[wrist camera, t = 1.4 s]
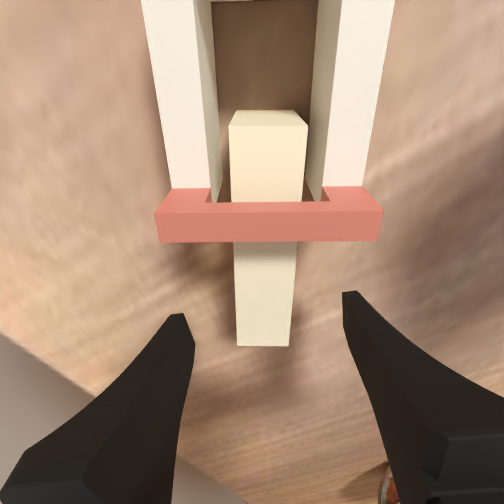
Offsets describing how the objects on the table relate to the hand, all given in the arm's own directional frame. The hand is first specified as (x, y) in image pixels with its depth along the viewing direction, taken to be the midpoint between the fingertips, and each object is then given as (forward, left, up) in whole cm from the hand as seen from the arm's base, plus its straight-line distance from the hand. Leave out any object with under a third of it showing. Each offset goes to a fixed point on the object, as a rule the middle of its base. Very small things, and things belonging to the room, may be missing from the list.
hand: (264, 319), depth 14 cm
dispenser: (0, -9, -4) cm, 10 cm away
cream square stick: (0, -3, -5) cm, 6 cm away
